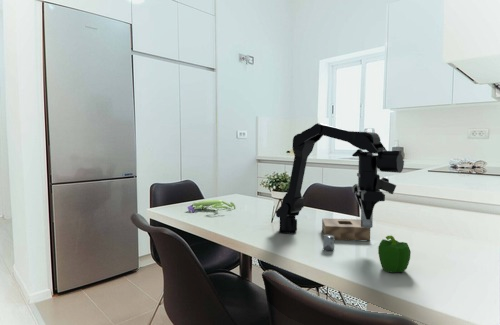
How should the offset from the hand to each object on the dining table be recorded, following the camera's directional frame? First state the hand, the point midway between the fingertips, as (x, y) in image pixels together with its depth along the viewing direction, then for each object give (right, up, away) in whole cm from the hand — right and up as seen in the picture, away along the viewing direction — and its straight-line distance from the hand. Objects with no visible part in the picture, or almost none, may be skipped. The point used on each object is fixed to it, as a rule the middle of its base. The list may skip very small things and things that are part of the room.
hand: (366, 218), depth 104 cm
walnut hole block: (-2, -10, +18) cm, 21 cm away
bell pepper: (+2, -12, -15) cm, 19 cm away
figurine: (-59, -8, +64) cm, 87 cm away
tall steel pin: (0, -3, 0) cm, 3 cm away
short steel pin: (-12, -11, +2) cm, 16 cm away
